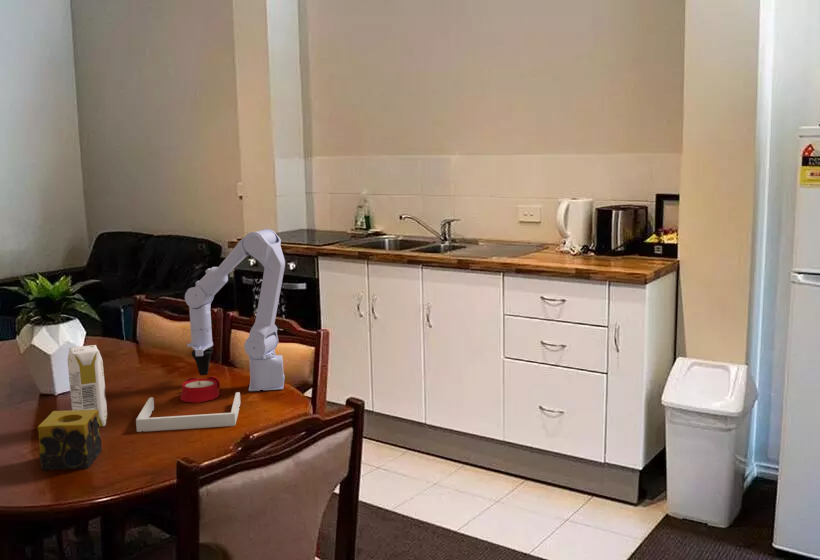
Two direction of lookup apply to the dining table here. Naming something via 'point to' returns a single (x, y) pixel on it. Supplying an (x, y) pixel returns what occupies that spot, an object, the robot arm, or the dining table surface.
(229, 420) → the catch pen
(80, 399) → the juice carton
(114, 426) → the dining table surface
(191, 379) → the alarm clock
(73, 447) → the yellow patterned cube
